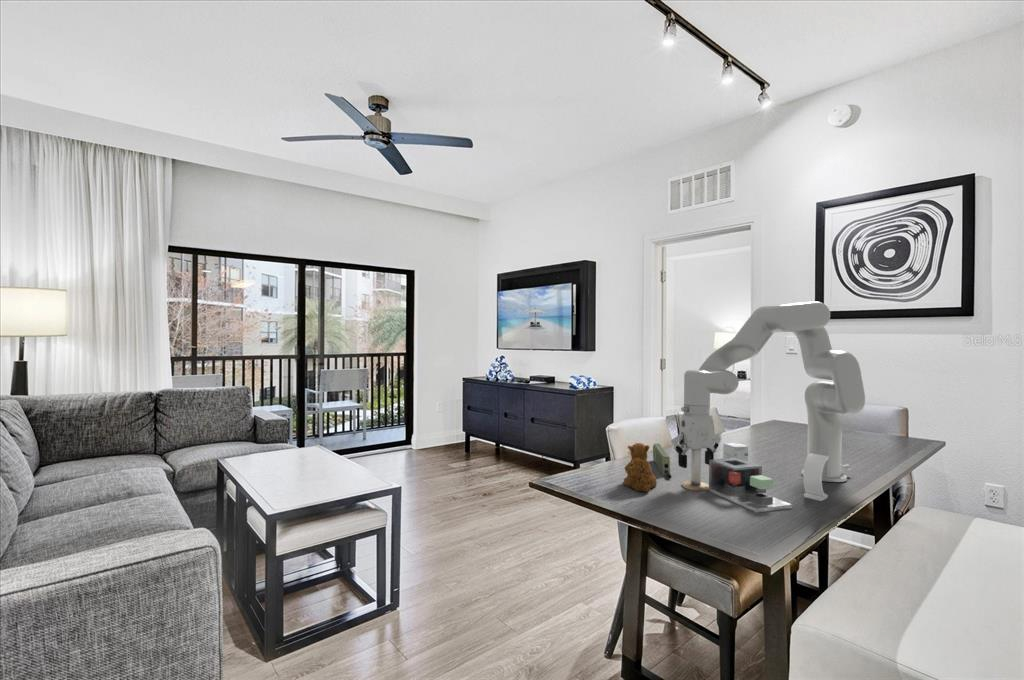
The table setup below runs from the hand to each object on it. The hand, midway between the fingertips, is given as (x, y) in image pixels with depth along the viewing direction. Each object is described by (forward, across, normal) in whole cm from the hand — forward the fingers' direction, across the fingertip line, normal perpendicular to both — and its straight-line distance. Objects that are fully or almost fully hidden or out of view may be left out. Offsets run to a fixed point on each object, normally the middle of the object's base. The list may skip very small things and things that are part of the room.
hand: (696, 465), depth 150 cm
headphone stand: (+7, +27, -18) cm, 33 cm away
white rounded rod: (+6, 0, 0) cm, 6 cm away
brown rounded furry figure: (+7, -17, +4) cm, 19 cm away
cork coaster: (+6, 0, 0) cm, 6 cm away
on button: (+3, +7, -18) cm, 20 cm away
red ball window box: (+6, +7, -13) cm, 16 cm away
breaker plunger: (+5, +7, -9) cm, 12 cm away
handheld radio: (+7, +2, +20) cm, 21 cm away
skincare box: (+7, +31, +18) cm, 36 cm away
